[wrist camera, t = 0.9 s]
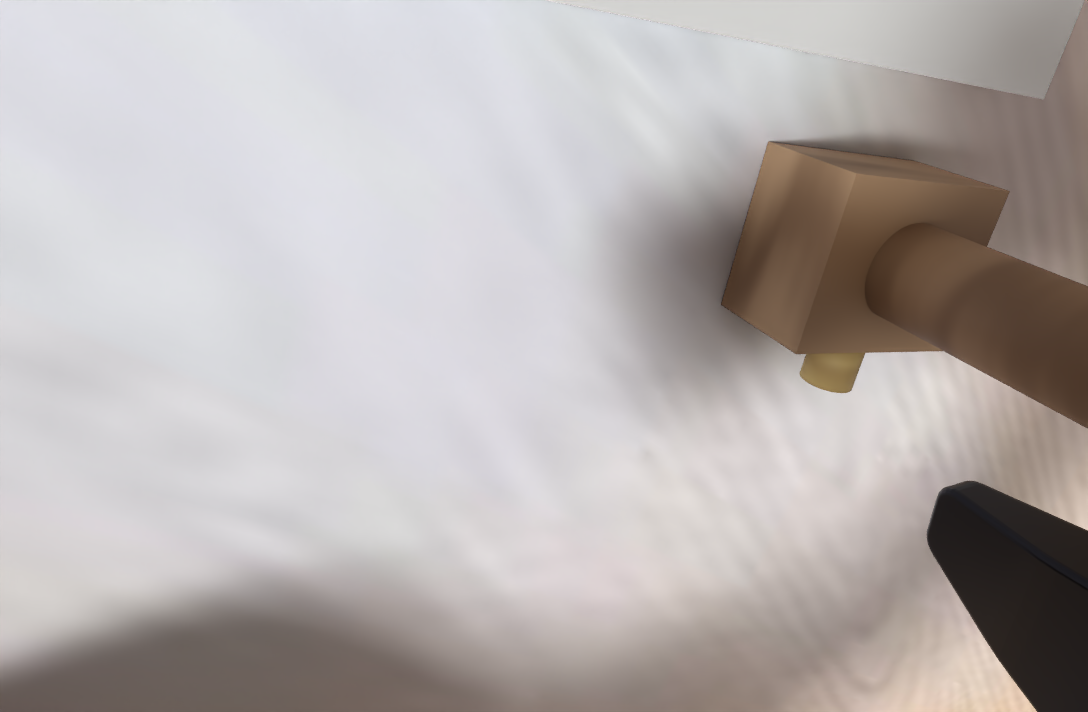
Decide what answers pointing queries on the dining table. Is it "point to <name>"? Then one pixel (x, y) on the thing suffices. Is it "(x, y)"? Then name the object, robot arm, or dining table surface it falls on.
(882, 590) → the dining table surface
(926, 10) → the board
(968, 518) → the robot arm
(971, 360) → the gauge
